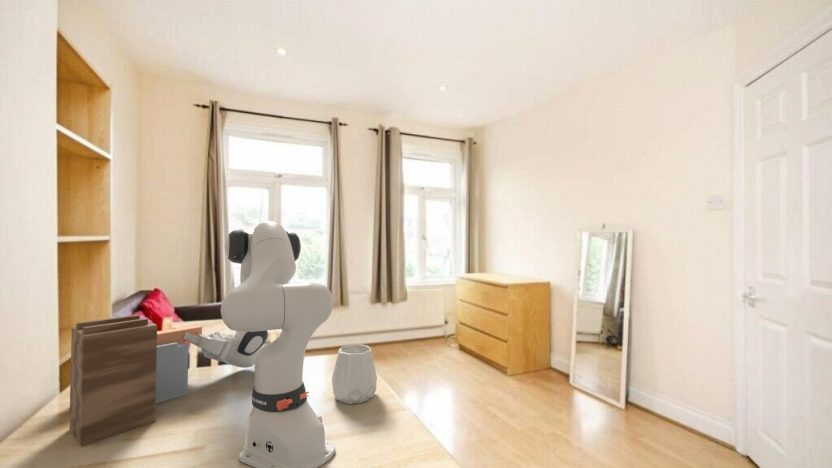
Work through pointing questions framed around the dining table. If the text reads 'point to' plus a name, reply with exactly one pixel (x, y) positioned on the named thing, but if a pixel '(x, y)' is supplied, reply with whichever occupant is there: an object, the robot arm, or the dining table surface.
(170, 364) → the step
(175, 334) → the baton
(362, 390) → the vase
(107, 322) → the stand
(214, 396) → the dining table surface
